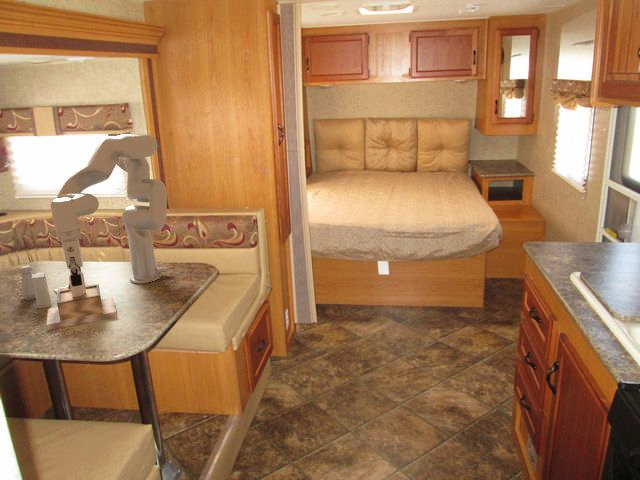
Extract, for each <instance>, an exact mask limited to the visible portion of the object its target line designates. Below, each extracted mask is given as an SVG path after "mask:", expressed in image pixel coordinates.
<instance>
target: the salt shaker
mask: <svg viewBox="0 0 640 480" xmlns="http://www.w3.org/2000/svg"><path fill="white" fill-rule="evenodd" d="M32 271H33V268H32V266H31V265H29V264H27V265H21V266H20V267H19V268H18V272H19V273H20V274H21V288H20V289H21V295H22V297H23V298H24V300H28V301H30V300H33V299H35V300H36V296H35V292H34V288H33V283H32V274H33V273H32Z"/></svg>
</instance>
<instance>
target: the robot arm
mask: <svg viewBox="0 0 640 480" xmlns="http://www.w3.org/2000/svg"><path fill="white" fill-rule="evenodd" d="M157 150H158V141H157V139H156V138H155V137H154V136H153V135H151V134H145V133H144V134H142V133H141V134H139V133H137V134H136V133H124V134H120V135H116V136H115V135H112V136H111V135H108V136H105V137H103V138H101V140H100V142H99V144H98V145H97V146H96V149H95V151H94V152H93V154H92V156H91V158H90V159H89V160H88V163H87V164H86V165H85V167H83V168H82V169H80V170H78V171H77V172H75V173H74V174H73V175H72V176H70V177H69V178H68V179H67V180H66V181H65V182H64V183H63V186H62V187H61V189H60V190H59V192H58V194H57V197H56V198H55V199H53V200H52V201H51V202H50V211H51V214H52V221H53V225H54V231H55V238H56V240H57V241H58V242H61V247H62V252H63V256H64V260H65V263H66V264H65V265H66V268H67V269H69V274H70V275H69V277H70V278H71V283H72V286H79V285H82V280H81V274H79V271H80V272H82V267H83V266H84V261H83V255H82V249H81V244H80V239H81V238H82V235H81V229H80V227H81V226H80V223H79V217H84V216H90V215H93V214H95V213H96V211H98V209H99V204H100V203H99V199H98V198H97V197H96V196H94V195H93V194H91V193H82V192H83V191H84V190H86V189H87V188H89V187H90V188H91V186H95V185H97V184H101V183H102V182H105V181H107V180H108V179H110V177H111V176H112V173H113V171H114V169H115V168H116V166H117V164H118V163H119V161H120V160H124V162H125V164H126V167H127V184H126V185H127V186H126V191H127V192H126V194H127V195H126V196H127V198H128V199H129V200H130V201H132V202H137V203H146V204H147V203H148V204H149V205H139V204H138V205H137V204H136V205H135V204H133V205H129V206H126V207H125V208H124V210H123V211H122V215H121V219H122V222H123V223H122V224H123V225H124V228H125V231H126V236H127V241H128V249H129V254H130V255H129V256H130V261H131V262H130V264H131V269H132V270H131V271H132V274H131V275H130V276H129V282H131V283H133V284H149V282H150V283H153V282H155V280H156V281H158V280H160V279H161V277H162V273H167V272H169V268H168V267H167V266H165V267H164V266H163V265H162V266H159V267H158V265H157V264H156V257H155V248H154V239H153V235H152V233H151V231H159V230H161V229H163V228H164V226H165V225H166V219H167V205H168V204H167V203H168V191H167V187H166V185H165V183H164V182H163V181H162V180H160V179H155V178H154V179H153V178H151V174H150V172H151V169H150V165H149V162H148V159H147V158H149V157H152V156H154V155H155V154H156V153H157ZM150 230H151V231H150ZM75 265H77V266H75ZM78 266H79V267H78ZM157 279H158V280H157ZM152 281H153V282H152Z"/></svg>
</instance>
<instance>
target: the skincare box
mask: <svg viewBox="0 0 640 480" xmlns="http://www.w3.org/2000/svg"><path fill="white" fill-rule="evenodd" d="M31 274H32V283H33V288H34V292H35V296H36V298H35V301H36V304H37V308H38V309H43V308H49V307H51V304H52V299H51V295H50V292H49V287H48V282H47V278H46V273H45V271H39V272H35V273H31Z"/></svg>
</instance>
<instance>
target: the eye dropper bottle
mask: <svg viewBox="0 0 640 480" xmlns="http://www.w3.org/2000/svg"><path fill="white" fill-rule="evenodd" d="M75 266H77V265H75ZM78 267H79V266H78ZM79 274H81V280H82V285H79V286H72V283H71V278H70V276H69V277H68V280H69V281H68V282H69V283H70V287H71V293H72V297H80V296H82V295H84V294H85V293H86V288H85V283H86V281H85V277H84V276H85V275H84V272H82V271H81V272H80V271H79Z"/></svg>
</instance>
